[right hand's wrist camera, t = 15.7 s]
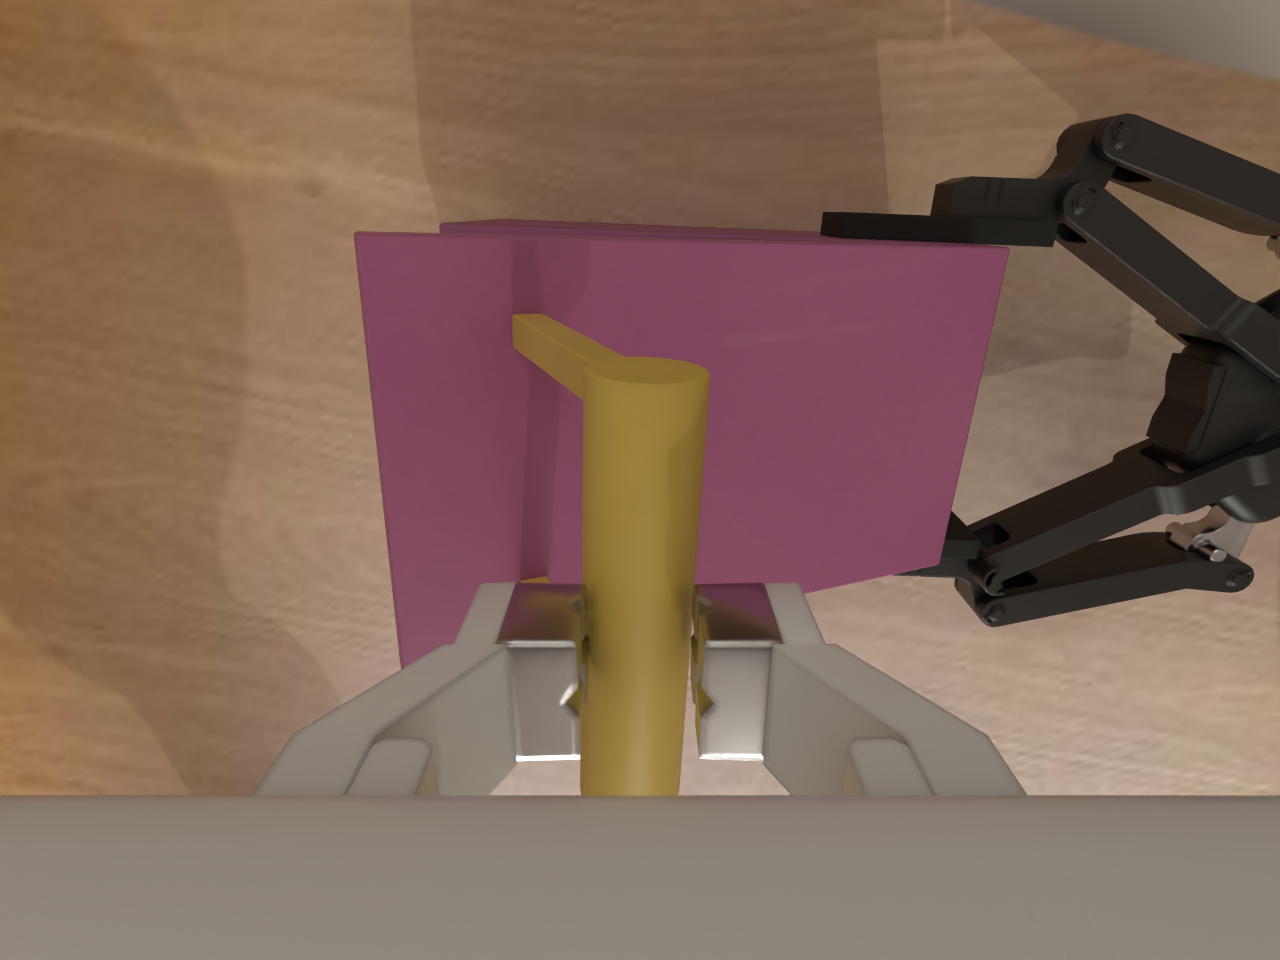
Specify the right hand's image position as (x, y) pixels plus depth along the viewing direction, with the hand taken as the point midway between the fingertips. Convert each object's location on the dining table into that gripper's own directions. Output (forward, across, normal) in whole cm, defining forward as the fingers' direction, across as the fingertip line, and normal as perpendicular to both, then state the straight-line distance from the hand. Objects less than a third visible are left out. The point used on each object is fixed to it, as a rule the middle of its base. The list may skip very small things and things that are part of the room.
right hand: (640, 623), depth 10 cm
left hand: (+15, -6, 0) cm, 16 cm away
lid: (+9, -2, 0) cm, 9 cm away
